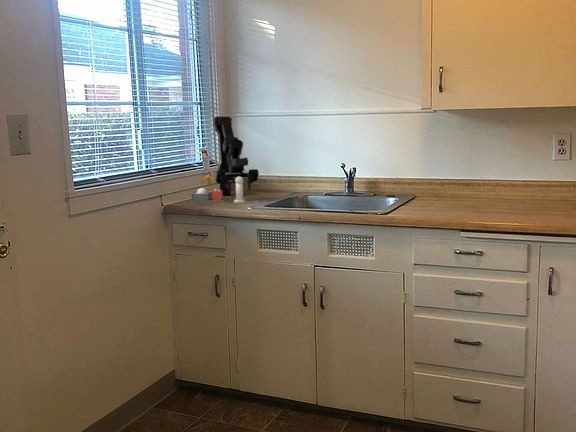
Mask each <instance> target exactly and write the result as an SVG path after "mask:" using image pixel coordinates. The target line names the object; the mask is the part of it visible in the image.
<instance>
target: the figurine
mask: <svg viewBox="0 0 576 432" xmlns="http://www.w3.org/2000/svg"><path fill="white" fill-rule="evenodd" d="M204 180H205V181H206V185H207V189H208V192H212V191H213V186H214V185H213V184H212V181H213V183H215V184H216V185H218V184H217V183H216V180H215V179H214V178H213V177H211V175H210V173H208V174H206V175H205V176H203V177H202V178H201V184H204ZM211 180H212V181H211Z"/></svg>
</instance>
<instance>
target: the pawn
mask: <svg viewBox="0 0 576 432" xmlns="http://www.w3.org/2000/svg"><path fill="white" fill-rule="evenodd" d="M245 201H246V200H245V198H244V178H242V177H240V176H239V177H237V178H235V199H234V201H233V203H234V202H235V204H245V203H244V202H245Z"/></svg>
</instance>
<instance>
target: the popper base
mask: <svg viewBox="0 0 576 432" xmlns="http://www.w3.org/2000/svg"><path fill="white" fill-rule="evenodd" d="M212 190H213V189H212ZM197 191H198V190H197ZM197 191H194V192H192V193H191V200H190V202H191V203H190V204H192V205H193V203H195V202H226V201H227V200H229V198H228V197H226V198H225V197H224V196H222V190H220V189H214V190H213V191H212V192H209V191H207V192H208V194H195V193H197Z"/></svg>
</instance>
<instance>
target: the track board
mask: <svg viewBox="0 0 576 432" xmlns="http://www.w3.org/2000/svg"><path fill="white" fill-rule="evenodd" d="M262 202H267V200H265V199H257V200H256V199H255V200H245V202H244V203H243V204H246V203H262ZM233 203H235V202H234V201H233ZM235 204H236V203H235Z"/></svg>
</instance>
